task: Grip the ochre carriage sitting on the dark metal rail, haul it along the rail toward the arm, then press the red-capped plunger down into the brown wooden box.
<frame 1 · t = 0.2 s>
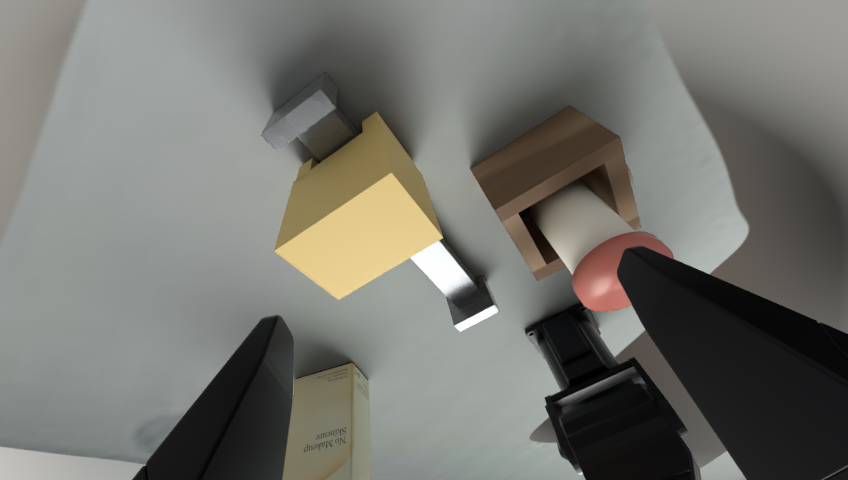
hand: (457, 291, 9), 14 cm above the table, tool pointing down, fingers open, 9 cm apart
brown wooden box: (536, 178, 24), on the table
rail: (404, 217, 24), on the table
carriage: (360, 198, 18), point 4 cm above the table, slide at 0.0 cm
skincare box: (332, 378, 35), on the table
plunger: (587, 235, 19), point 7 cm above the table, slide at 0.0 cm
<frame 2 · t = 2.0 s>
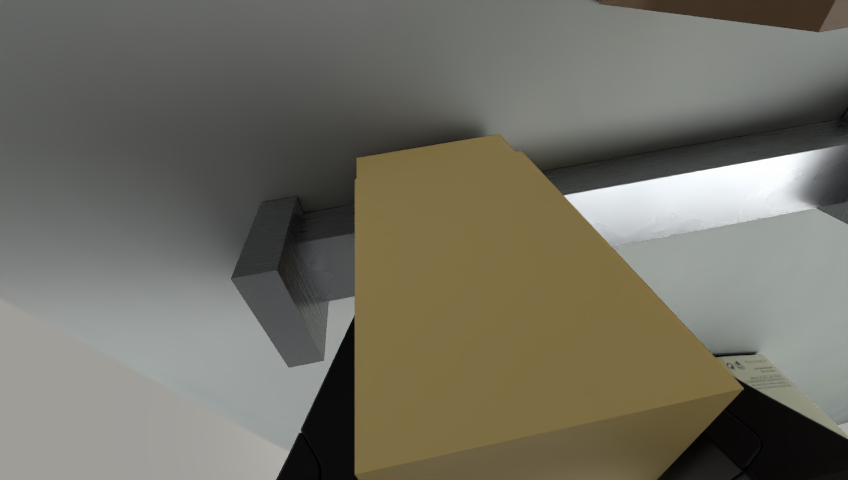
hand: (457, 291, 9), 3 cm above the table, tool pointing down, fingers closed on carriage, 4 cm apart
rail: (578, 195, 12), on the table
carriage: (466, 318, 8), point 4 cm above the table, slide at 0.0 cm, touching gripper
skincare box: (701, 377, 23), on the table
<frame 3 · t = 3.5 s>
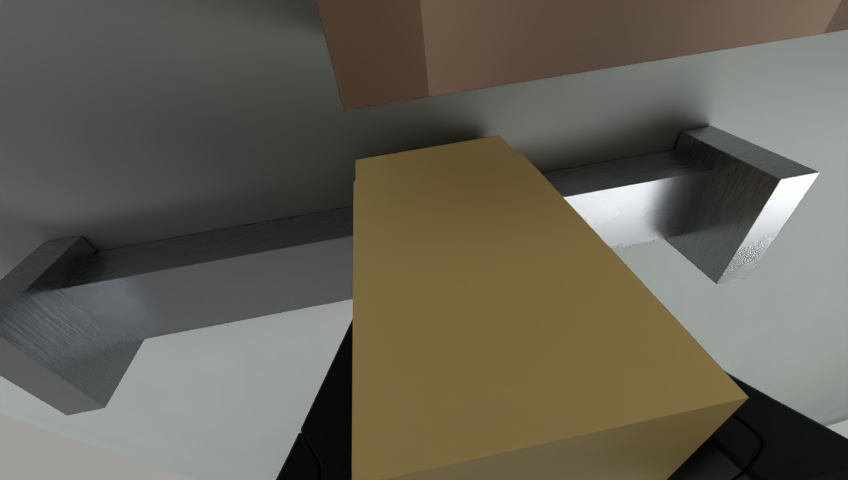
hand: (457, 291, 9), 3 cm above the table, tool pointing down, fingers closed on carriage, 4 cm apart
rail: (405, 229, 11), on the table
carriage: (466, 321, 8), point 4 cm above the table, slide at 6.0 cm, touching gripper
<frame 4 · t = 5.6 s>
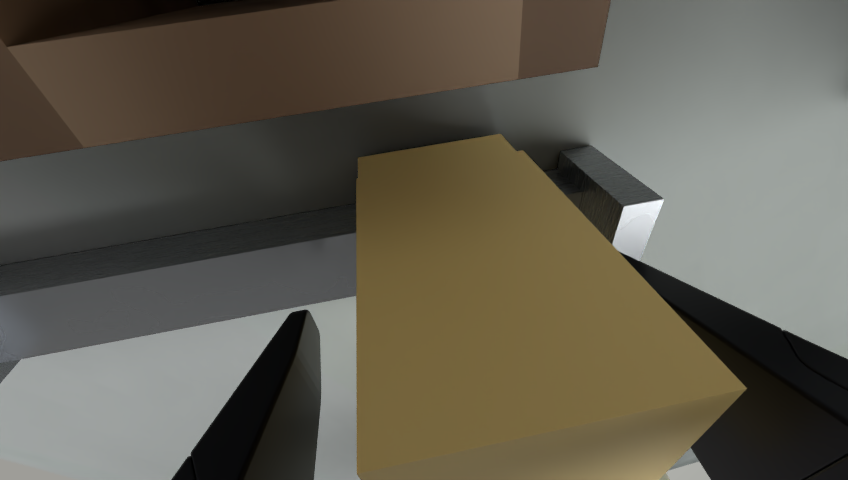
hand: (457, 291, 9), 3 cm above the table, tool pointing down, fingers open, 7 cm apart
rail: (286, 248, 11), on the table
carriage: (467, 318, 8), point 4 cm above the table, slide at 10.0 cm
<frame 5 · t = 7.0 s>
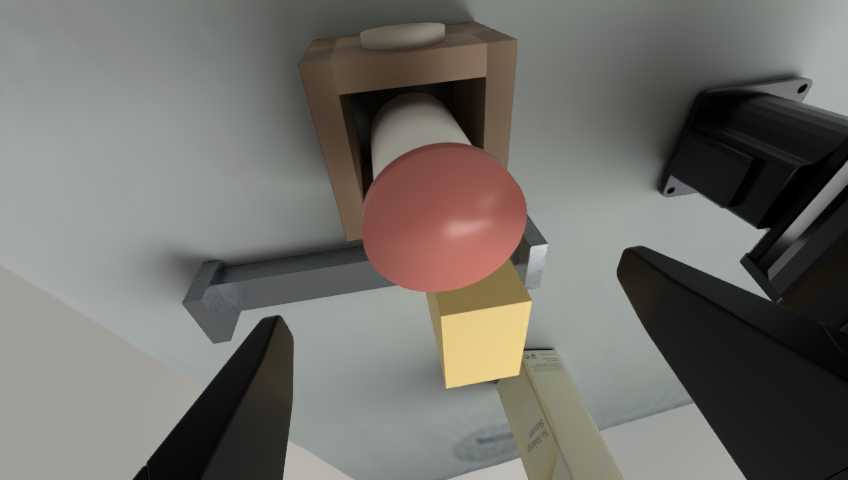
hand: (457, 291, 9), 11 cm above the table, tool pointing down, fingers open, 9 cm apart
brown wooden box: (405, 113, 17), on the table
rail: (375, 258, 22), on the table
carriage: (465, 291, 19), point 4 cm above the table, slide at 10.0 cm
skincare box: (524, 365, 34), on the table
plunger: (426, 174, 12), point 7 cm above the table, slide at 0.0 cm
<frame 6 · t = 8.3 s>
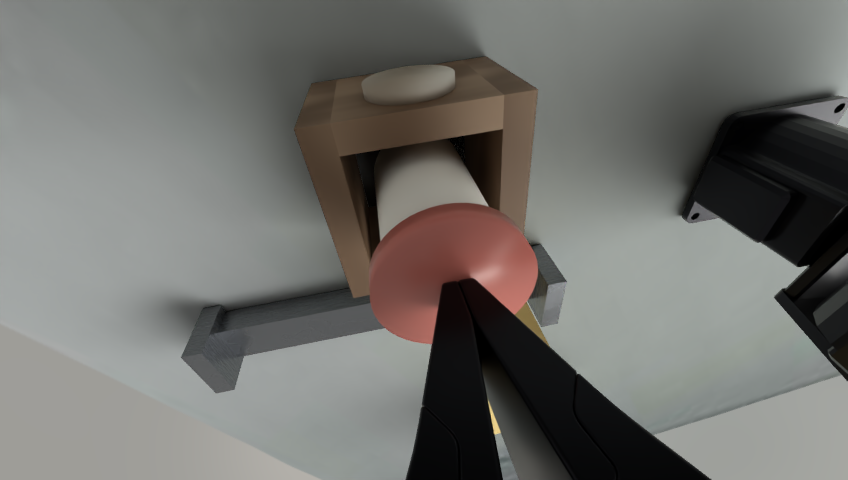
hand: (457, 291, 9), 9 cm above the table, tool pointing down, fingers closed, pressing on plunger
brown wooden box: (411, 152, 16), on the table
rail: (382, 295, 21), on the table
carriage: (479, 334, 18), point 4 cm above the table, slide at 10.0 cm
plunger: (432, 218, 12), point 5 cm above the table, slide at 1.2 cm, touching gripper
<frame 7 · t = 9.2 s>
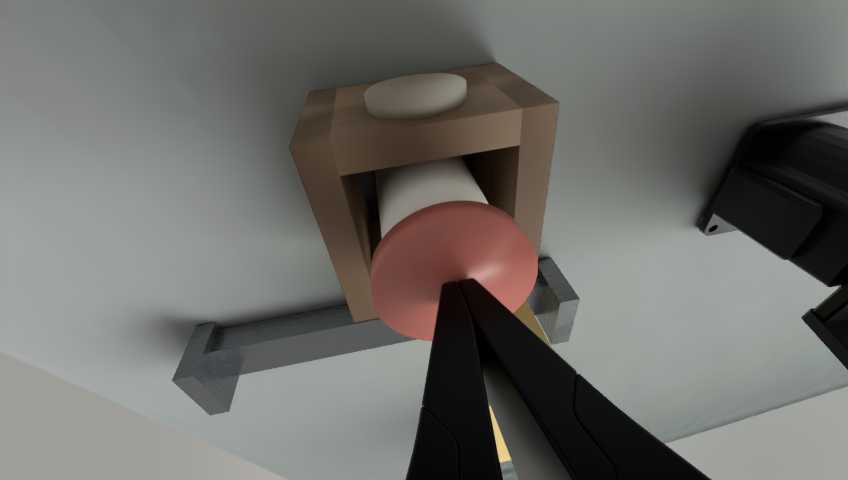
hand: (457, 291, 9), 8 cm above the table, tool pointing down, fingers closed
brown wooden box: (416, 164, 15), on the table
rail: (384, 311, 20), on the table
carriage: (487, 354, 17), point 4 cm above the table, slide at 10.0 cm
plunger: (433, 216, 12), point 4 cm above the table, slide at 2.5 cm
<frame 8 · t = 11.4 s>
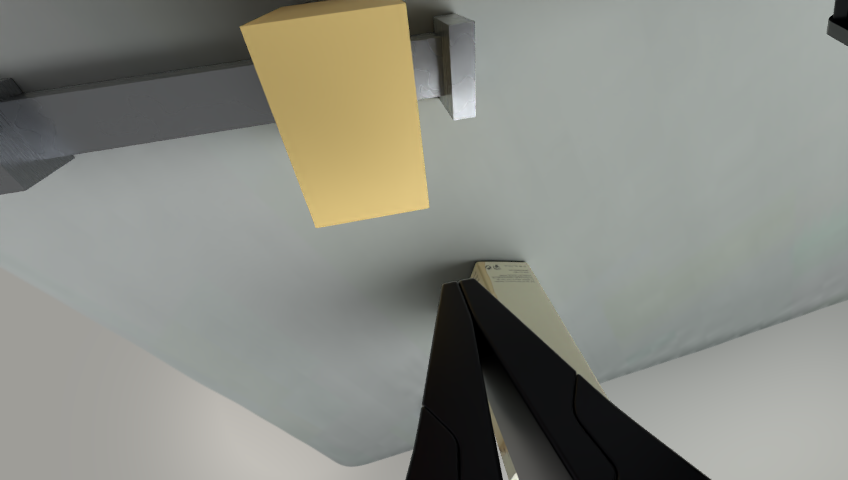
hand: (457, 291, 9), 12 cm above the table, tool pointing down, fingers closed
rail: (247, 89, 16), on the table
carriage: (353, 98, 13), point 4 cm above the table, slide at 10.0 cm
skincare box: (490, 287, 27), on the table
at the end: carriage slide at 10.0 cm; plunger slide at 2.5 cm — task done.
